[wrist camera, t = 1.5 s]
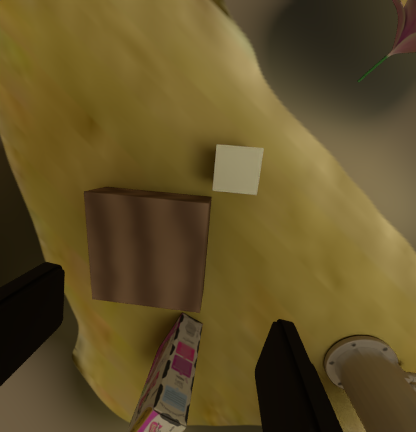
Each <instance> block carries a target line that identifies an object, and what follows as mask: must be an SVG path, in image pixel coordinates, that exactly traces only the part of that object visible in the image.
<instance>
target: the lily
mask: <svg viewBox="0 0 416 432" xmlns="http://www.w3.org/2000/svg"><path fill="white" fill-rule="evenodd" d="M392 1H393V3H394V5H395V7H396V9H397V13H398V27H397V33H396V38H395V42H394V45H393V49H392V51H391V52H390V53H389V54H387V55H386V56H385V57H384V58H383V59H382V60H381V61H379V62H378V63H377V64H376V65H375V66H373V67H372V68H371V69H370V70H369V71H368V72H367V73H366V74H364V75H363V76H362V77H361V78H360V79H359V80H358V82H360V81H361V80H362V79H363V78H364V77H366V76H367V75H368V74H369V73H370V72H371V71H372V70H374V69H375V68H376V67H377V66H378V65H379V64H381V63H382V62H383V61H384V60H386V59H387V58H388V57H389V56H391V55H393V54H400V53H413V52H416V0H408V1H407V2H406V4H405V7H404V8H403V5H402V2H401V1H400V0H392Z"/></svg>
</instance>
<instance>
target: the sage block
mask: <svg viewBox="0 0 416 432" xmlns="http://www.w3.org/2000/svg"><path fill="white" fill-rule="evenodd" d="M263 150H264V148H254V147H243V146H231V145H219V144H217V147H216V158H215V169H214V180H213V191H222V192H232V193H242V194H252V195H257V190H258V183H259V177H260V170H261V163H262V157H263Z"/></svg>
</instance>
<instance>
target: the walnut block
mask: <svg viewBox="0 0 416 432" xmlns="http://www.w3.org/2000/svg"><path fill="white" fill-rule="evenodd" d="M84 199H85V212H86V224H87V237H88V249H89V262H90V274H91V287H92V299H96V300H104V301H112V302H119V303H127V304H135V305H143V306H151V307H158V308H166V309H174V310H182V311H190V312H197V313H200V308H201V302H202V296H203V289H204V278H205V266H206V255H207V243H208V232H209V220H210V209H211V197H207V196H196V195H186V194H175V193H165V192H154V191H144V190H133V189H122V188H112V187H103V188H99V189H94V190H89V191H84Z"/></svg>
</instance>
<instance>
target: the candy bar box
mask: <svg viewBox="0 0 416 432" xmlns="http://www.w3.org/2000/svg"><path fill="white" fill-rule="evenodd" d="M202 325H203V324H202V323H200V322H198V321H197V320H195V319H193V318H191V317H190V316H188V315H186V314H184V313H182V314H181V316H180V317H179V319H178V320H177V322H176V323H175V325H174V326H173V328H172V329H171V331H170V332H169V334H168V335H167V337H166V338H165V340H164V341H163V343H162V344H161V346H160V347H159V349H158V351H157V353H156V356H155V359H154V362H153V364H152V367H151V370H150V372H149V375H148V378H147V380H146V383H145V386H144V389H143V391H142V394H141V397H140V399H139V402H138V404H137V407H136V409H135V412H134V415H133V417H132V420H131V423H130V426H129V428H128V431H127V432H183V431H184V430H185V428H186V426H187V419H188V412H189V406H190V400H191V393H192V387H193V381H194V375H195V368H196V362H197V356H198V349H199V343H200V338H201V331H202Z"/></svg>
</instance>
